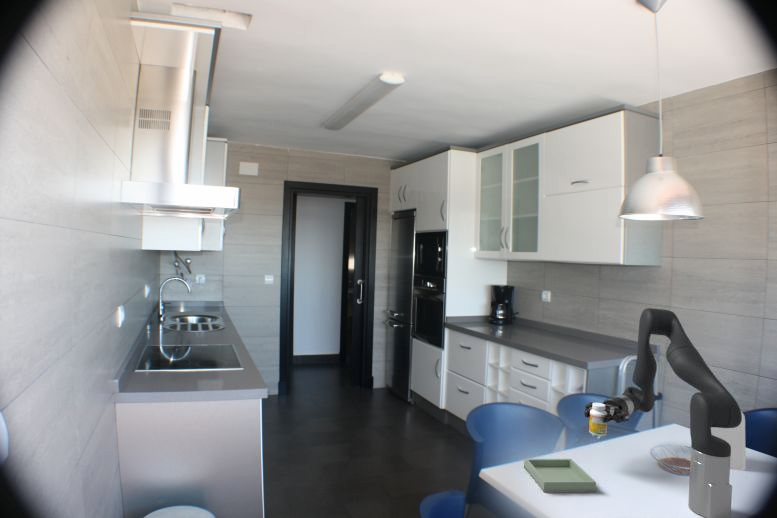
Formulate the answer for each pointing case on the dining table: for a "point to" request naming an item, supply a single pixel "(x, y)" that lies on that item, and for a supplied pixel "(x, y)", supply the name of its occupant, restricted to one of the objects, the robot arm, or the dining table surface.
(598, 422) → the supplement bottle
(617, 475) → the dining table surface
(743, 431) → the milk
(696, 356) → the robot arm
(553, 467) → the tray
